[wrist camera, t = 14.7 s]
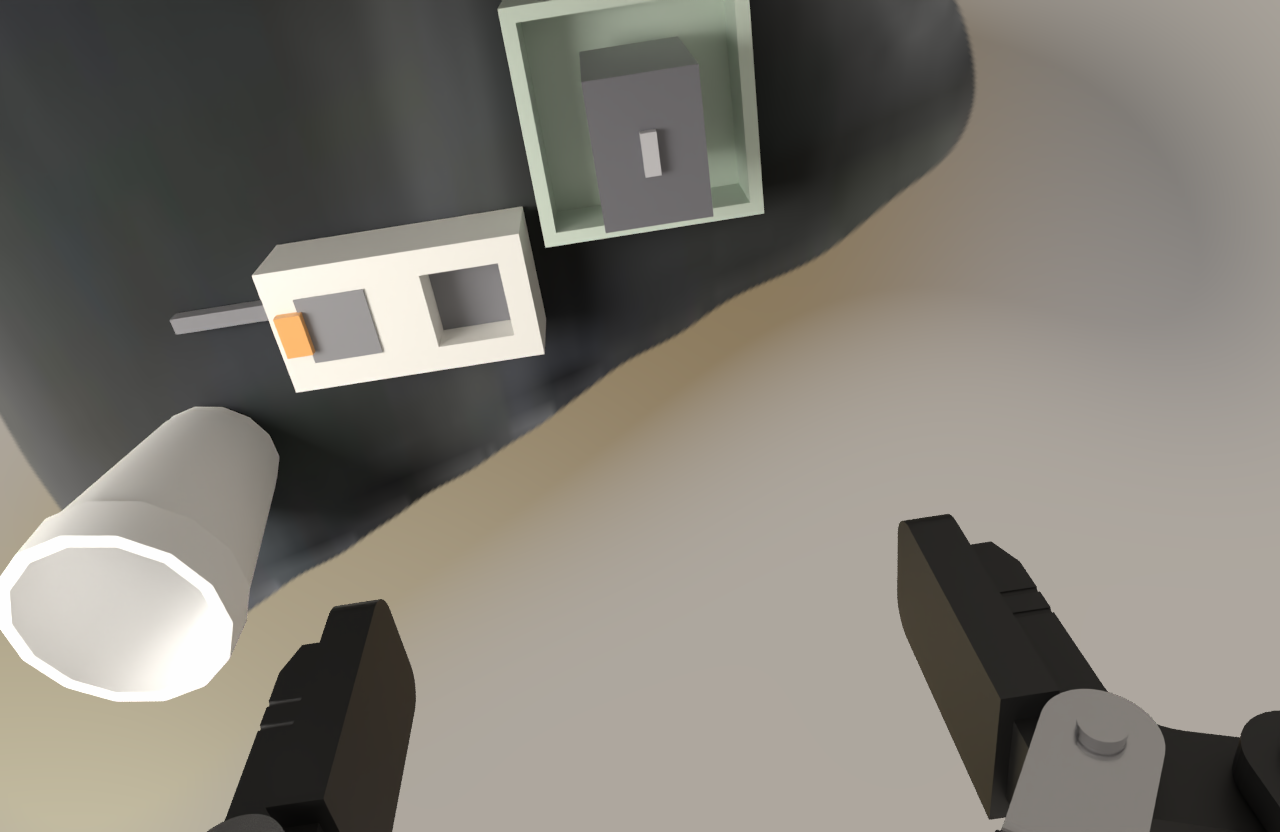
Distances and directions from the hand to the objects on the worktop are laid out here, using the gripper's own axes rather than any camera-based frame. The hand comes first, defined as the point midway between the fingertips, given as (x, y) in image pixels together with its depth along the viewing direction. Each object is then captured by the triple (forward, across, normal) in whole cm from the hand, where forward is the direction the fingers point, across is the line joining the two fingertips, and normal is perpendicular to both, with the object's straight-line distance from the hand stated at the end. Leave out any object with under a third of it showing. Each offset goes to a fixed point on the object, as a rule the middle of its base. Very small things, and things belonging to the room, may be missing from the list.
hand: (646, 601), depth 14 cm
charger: (+32, -2, -1) cm, 32 cm away
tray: (+32, -2, -1) cm, 32 cm away
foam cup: (+32, +23, +14) cm, 42 cm away
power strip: (+32, +13, +6) cm, 35 cm away
